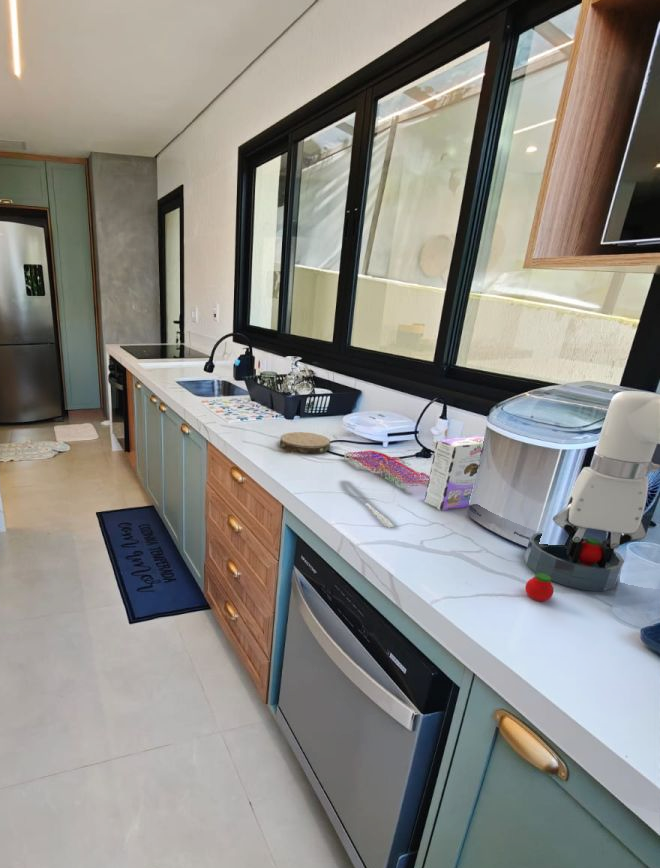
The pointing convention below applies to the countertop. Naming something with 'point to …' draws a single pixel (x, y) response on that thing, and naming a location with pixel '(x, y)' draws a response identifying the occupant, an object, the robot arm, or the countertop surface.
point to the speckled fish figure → (393, 467)
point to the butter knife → (380, 516)
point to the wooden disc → (304, 443)
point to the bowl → (571, 566)
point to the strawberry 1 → (540, 587)
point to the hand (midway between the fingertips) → (586, 561)
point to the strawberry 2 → (590, 551)
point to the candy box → (453, 472)
